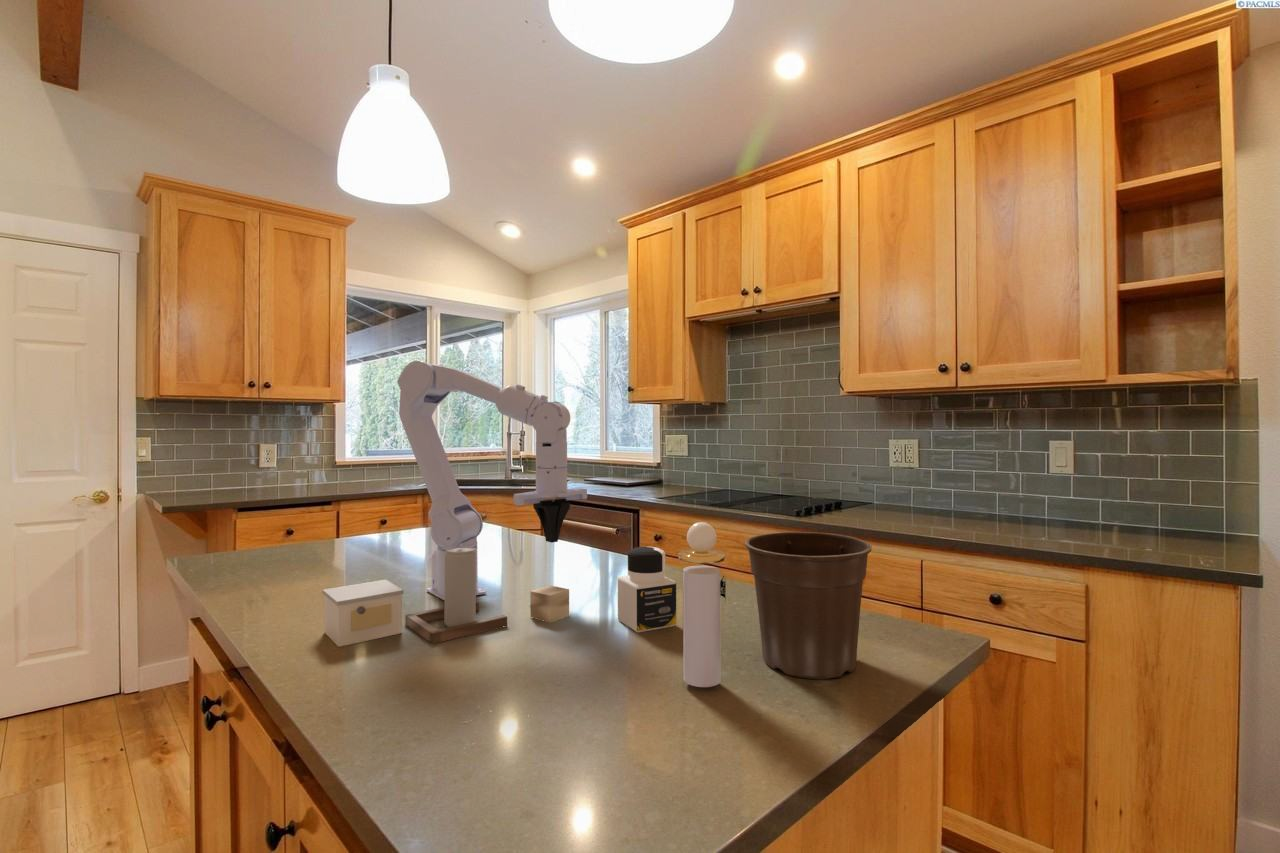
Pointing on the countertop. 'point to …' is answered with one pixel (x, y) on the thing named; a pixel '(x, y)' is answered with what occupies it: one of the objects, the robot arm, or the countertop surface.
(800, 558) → the plant pot
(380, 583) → the control box
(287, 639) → the countertop surface
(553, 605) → the beech block
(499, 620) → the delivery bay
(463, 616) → the beverage can
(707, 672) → the perfume bottle
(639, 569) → the medicine bottle
